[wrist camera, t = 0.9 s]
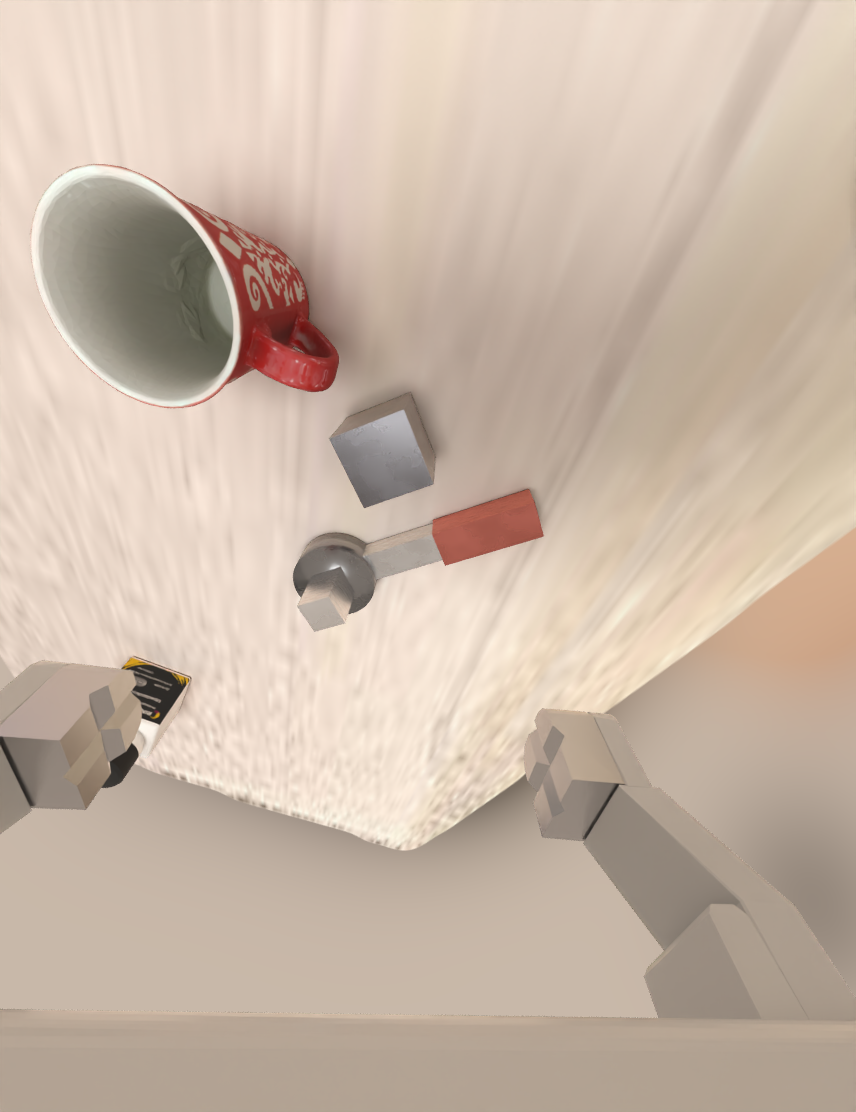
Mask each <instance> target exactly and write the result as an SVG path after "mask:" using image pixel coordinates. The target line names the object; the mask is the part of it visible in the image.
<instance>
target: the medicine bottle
mask: <svg viewBox="0 0 856 1112" xmlns="http://www.w3.org/2000/svg"><path fill="white" fill-rule="evenodd" d="M122 669H124V670H129V671H132V672H133V674H134V677H135V681H136V686H135V687H134V688H133V689H132V691H131V693H132V694H133V695H134V696H135V697H136V698H138V699H139V700H140V702H141V707H142V718H141V723H140V726H139V729H138V731H137V734H136V737H135V739H134V740H133V742H132V743H131V745H130V746H129V748H128V749H127V751H126V752H124V753H123V754H121V755H120V756H118V757H116V758H115V759H113V760H112V761H110V770H111V774H110V776H109V777H108V778H107V780H106V781H105V783H104V784H103V786H102V787H101V788H108V787H112V786H115V785H117V784H119V783H121V782H122V781H123V779H124V778H125V776H126V775H127V773H128V772H129V770H130V768H131V767H132V766H133V764H134V763H135V761H136V760H137V758H138V757H139V756H140V757H143V758H148V757H149V756H150V754H151V753H152V751H153V750H154V748H155V747H156V745H157V744H158V742H159V741H160V739H161V737H162V736H163V734H164V733H165V731H166V730H167V728H168V727H169V725H170V724H171V722H172V720H173V719H174V717H175V716H176V714H177V713H178V711H179V710H180V707H181V704H182V702H183V699H184V696H185V694H186V691H187V688H188V686H189V683H190V680H191V679H190V677H188V676H185V675H182V674H180V673H177V672H174V671H171V670H169V669H166V668H163V667H161V666H158V665H155V664H152V663H150V662H147V661H144V660H141V659H139V658H136V657H132V658H130V660H129V661H128V662H127V663H126V664H125V665H124V666H123V668H122Z"/></svg>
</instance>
